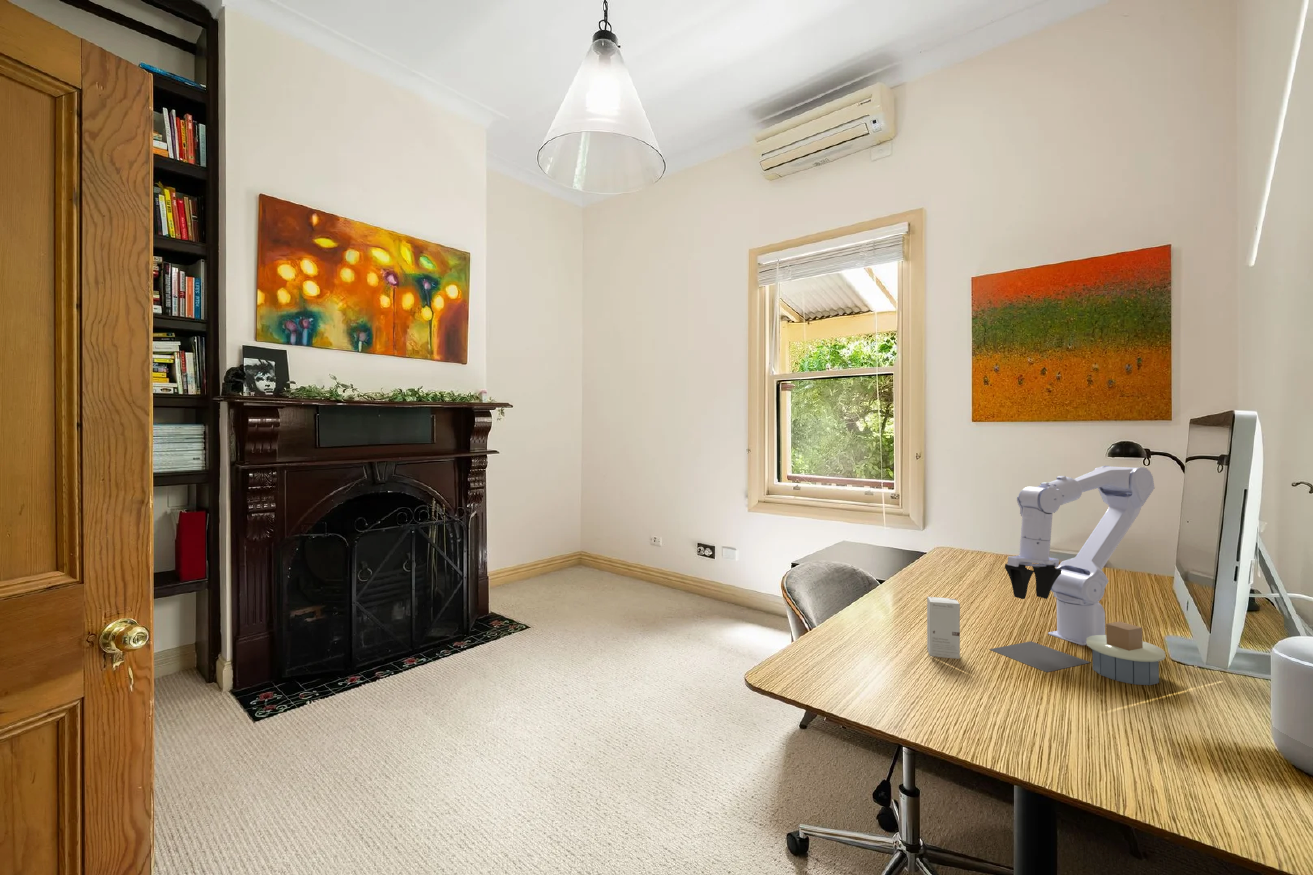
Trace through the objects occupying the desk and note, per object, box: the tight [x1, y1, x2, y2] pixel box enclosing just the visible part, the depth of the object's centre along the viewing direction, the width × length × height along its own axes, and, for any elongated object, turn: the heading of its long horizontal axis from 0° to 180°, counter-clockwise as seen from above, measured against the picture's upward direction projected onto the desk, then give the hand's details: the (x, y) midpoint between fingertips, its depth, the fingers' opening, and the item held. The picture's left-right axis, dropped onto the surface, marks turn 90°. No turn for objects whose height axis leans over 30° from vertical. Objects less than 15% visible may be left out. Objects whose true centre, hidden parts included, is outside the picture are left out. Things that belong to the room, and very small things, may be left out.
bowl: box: [1091, 649, 1160, 686], centre depth 111 cm, size 10×10×5 cm
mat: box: [988, 640, 1092, 673], centre depth 120 cm, size 13×13×1 cm
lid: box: [1086, 620, 1166, 662], centre depth 111 cm, size 12×12×5 cm
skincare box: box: [926, 596, 961, 660], centre depth 122 cm, size 6×4×12 cm
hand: (1030, 597), depth 128 cm, fingers open, 7 cm apart
